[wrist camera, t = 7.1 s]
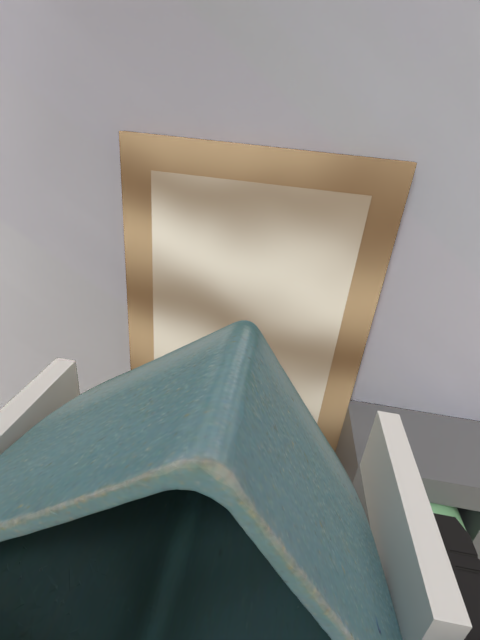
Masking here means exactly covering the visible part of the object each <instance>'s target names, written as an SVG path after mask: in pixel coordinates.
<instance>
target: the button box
mask: <svg viewBox="0 0 480 640" xmlns="http://www.w3.org/2000/svg"><path fill="white" fill-rule="evenodd" d="M377 411H382V412H388V413H395V414H399V415H400V418H401V421H402V424H403V427H404V430H405V433H406V435H407V438H408V441H409V444H410V447H411V450H412V453H413V456H414V459H415V462H416V465H417V467H418V470H419V473H420V476H421V479H422V482H423V485H424V488H425V491H426V494H427V497H428V499H429V502H430V503H435V504H441V505H446V506H452V507H457V509H458V511H459V514H460V516H461V519H462V521H463V524H464V526H465V529H466V531H467V533H468V534H469V535H470V537H471V540H472V542H473V544H474V547H475V549H476V552H477V554H478V559H480V421H475V420H468V419H462V418H456V417H450V416H444V415H438V414H432V413H426V412H420V411H413V410H407V409H401V408H395V407H389V406H383V405H377V404H371V403H364V402H358V401H352V400H350V402H349V405H348V409H347V412H346V416H345V420H344V423H343V427H342V430H341V434H340V437H339V441H338V444H337V448H336V451H335V453H336V455H337V457H338V458H339V460H340V462H341V464H342V465H343V467H344V469H345V471H346V472H347V474H348V476H349V478H350V480H351V482H352V484H353V486H354V488H355V490H356V493H357V495H358V497H359V500H360V502H361V504H362V506H363V509H364V511H365V514H366V517H367V520H368V523H369V526H370V522H369V516H368V510H367V505H366V499H365V493H364V487H363V481H362V476H361V470H360V463H361V460H362V457H363V454H364V451H365V448H366V444H367V441H368V438H369V435H370V432H371V429H372V426H373V423H374V420H375V417H376V414H377Z"/></svg>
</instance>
